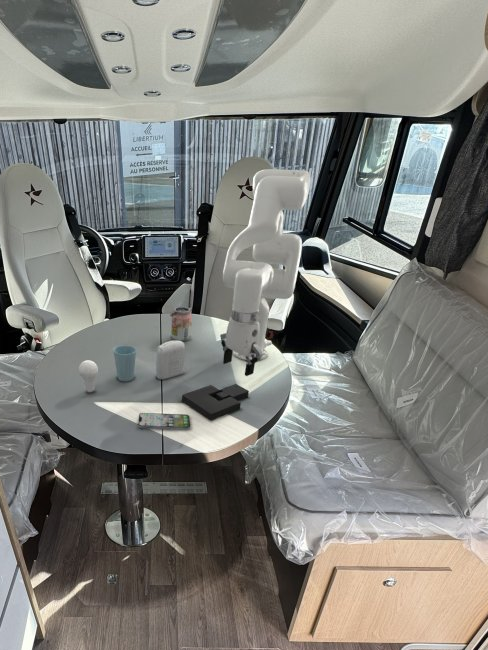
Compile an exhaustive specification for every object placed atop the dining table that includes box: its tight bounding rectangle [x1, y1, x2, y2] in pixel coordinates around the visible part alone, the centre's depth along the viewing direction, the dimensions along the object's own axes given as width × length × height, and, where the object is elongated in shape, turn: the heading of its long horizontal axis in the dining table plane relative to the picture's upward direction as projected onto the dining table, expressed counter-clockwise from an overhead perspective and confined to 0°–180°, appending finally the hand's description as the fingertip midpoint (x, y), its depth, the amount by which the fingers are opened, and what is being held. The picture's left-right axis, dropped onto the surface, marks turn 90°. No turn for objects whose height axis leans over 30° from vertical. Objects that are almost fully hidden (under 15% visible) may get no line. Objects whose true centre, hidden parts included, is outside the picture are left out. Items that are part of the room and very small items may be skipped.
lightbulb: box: [78, 359, 99, 393], centre depth 142 cm, size 6×6×11 cm
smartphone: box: [138, 412, 191, 431], centre depth 130 cm, size 7×1×15 cm
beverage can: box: [169, 306, 193, 342], centre depth 179 cm, size 9×8×12 cm
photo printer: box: [155, 340, 186, 380], centre depth 151 cm, size 10×4×12 cm, turn 123°
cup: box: [113, 344, 137, 382], centre depth 150 cm, size 8×8×10 cm
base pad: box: [181, 384, 242, 422], centre depth 138 cm, size 12×14×2 cm
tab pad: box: [215, 383, 250, 402], centre depth 141 cm, size 10×6×2 cm, turn 125°
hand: (237, 368), depth 138 cm, fingers open, 9 cm apart
